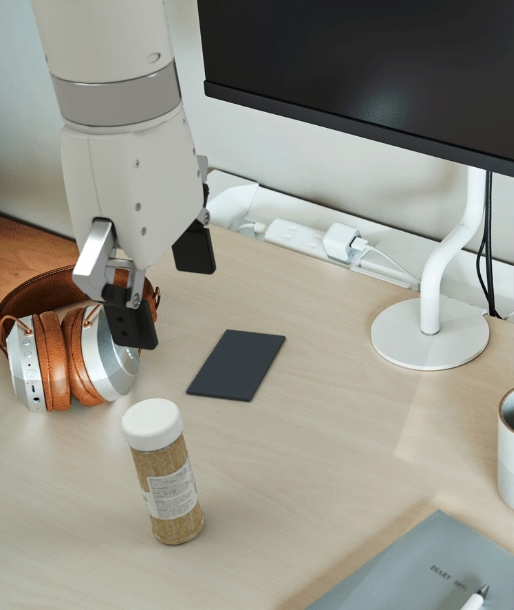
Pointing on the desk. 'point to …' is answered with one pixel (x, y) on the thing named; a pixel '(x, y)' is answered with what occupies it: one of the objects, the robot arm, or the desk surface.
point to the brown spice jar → (164, 469)
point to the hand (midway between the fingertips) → (168, 306)
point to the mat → (236, 365)
